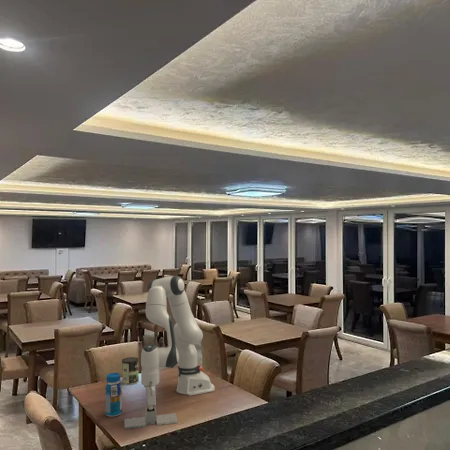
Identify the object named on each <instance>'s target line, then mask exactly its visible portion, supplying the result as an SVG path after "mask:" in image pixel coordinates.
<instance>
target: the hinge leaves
mask: <svg viewBox="0 0 450 450" xmlns="http://www.w3.org/2000/svg"><path fill="white" fill-rule="evenodd" d="M144 413H145V416H141V417H133V418H124V430H131V429H139V428H140V429H141V428H147V426H150V425H156V426H164V425H171V424H178V423H179V421H178V418H177V413H175V412H174V413H173V412H172V413H167V414H159V415H158V414H157V413H158V412H157V407H156V406H153V411H148V407H146V408H144ZM156 423H157V424H156ZM163 424H164V425H163Z"/></svg>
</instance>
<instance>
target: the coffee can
mask: <svg viewBox="0 0 450 450" xmlns="http://www.w3.org/2000/svg"><path fill="white" fill-rule="evenodd" d="M139 380H140V378H139V357H134V356H130V357H125V358H123V359H121V381H122V382H121V383H122V385H125V386H126V385H127V386H129V385H130V386H131V385H135V384H138V383H140V381H139Z"/></svg>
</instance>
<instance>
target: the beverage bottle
mask: <svg viewBox="0 0 450 450" xmlns="http://www.w3.org/2000/svg"><path fill="white" fill-rule="evenodd" d="M120 381H121V374H120V373H118V372H111V373H108V374H107V375H106V382H107V384H106V385H105V388H104V390H105V393H104V397H105V401H104V402H105V416H107V417H112V418H113V417H118V416H120V415H121V414H122V413H123V401H122V400H123V397H122V395H123V390H122V388H123V387H122V384H121V382H120Z"/></svg>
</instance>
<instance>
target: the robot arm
mask: <svg viewBox="0 0 450 450" xmlns="http://www.w3.org/2000/svg"><path fill="white" fill-rule="evenodd" d="M185 289H186V288H185V281H184V279H183V278H182V277H181V276H178V275H174V276H165V277H161V278H158V279H153V280H151V281H150V282H149V283H148V285H147V289H146V290H147V296H146V302H145V316H146V319H148V321H149V322H150V323H152V324H154V325H157V326H159V327H162V328H164V330H165V331H166V337H167V345H168V346H166V347H158V346H157V345H156V344H153V343H150V344H146V345H144V346H142V349H141V353H140V366H141V372H140V375H141V376H140V379H141V380H140V383H141V385H142V386H143V387H144V389H145V394H146V401H147V406H148V405H149V409H150V410H152V409H153V407H154V406H156V404H157V401H156V387H157V386H158V384H159V383H160V369H159V368H168V369H173V368H174V367H176V366H177V365H178V366H177V375H178V377H177V378H178V380H177V386H176V392H177V393H178V394H181V395H187V396H189V397H191V396H196V395H200V394H201V395H202V394H207V393H213V392H214V391H215V390H216V388H215V385H214V384H213V383H212V382H211V378H210V377H209V376H208V375H207V374H206V373H205V372H203V370H204V368H203V367H202V366H201V365H200V364H199V363H198V351H197V348H196V346H195V345H199V344H200V343H201V342H202V340H203V338H204V334H203V330H202V329H201V328H200V326H199V325H198V322H197V321H196V318H195V316H194V314H193V312H192V309H191V306H190V303H189V298H188V295H187V293H186V291H185ZM167 300H168V303H169V307H170V311H171V315H172V316H171V315H170V314H169V313H168V311H167V307H168V304H167ZM173 319H174V321H175V322H176V323H175V324H174V321H173Z"/></svg>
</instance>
